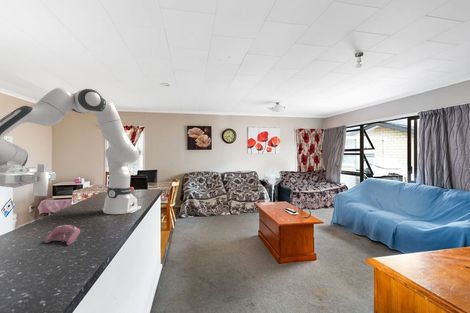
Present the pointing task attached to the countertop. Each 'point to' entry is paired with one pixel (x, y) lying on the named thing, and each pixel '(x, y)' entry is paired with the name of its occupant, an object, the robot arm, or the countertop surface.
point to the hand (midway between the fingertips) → (43, 178)
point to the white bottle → (41, 181)
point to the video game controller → (60, 234)
